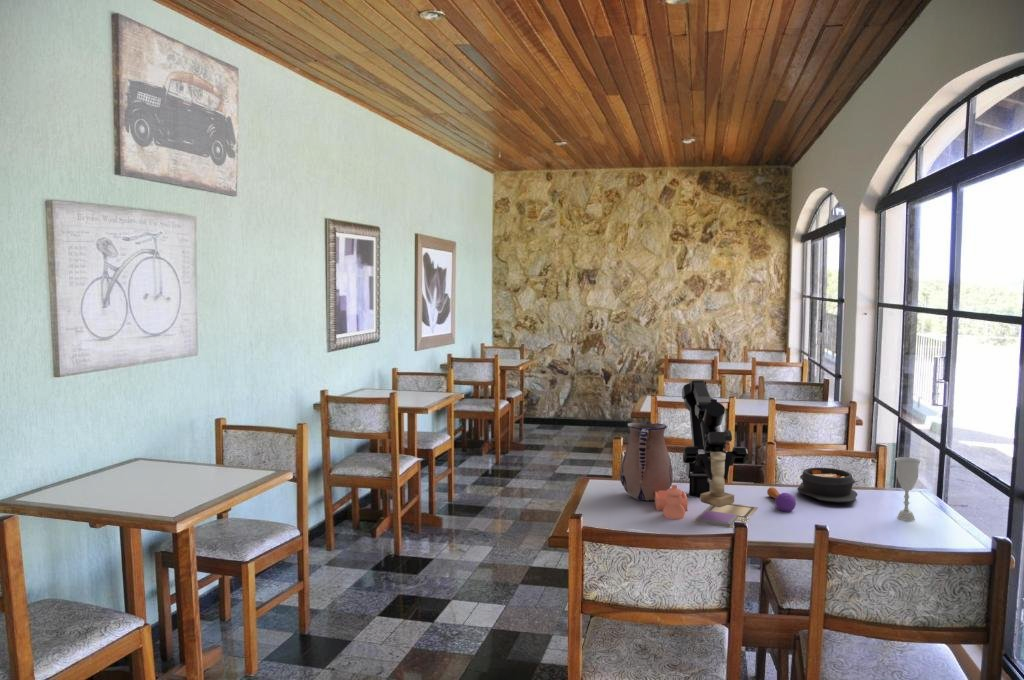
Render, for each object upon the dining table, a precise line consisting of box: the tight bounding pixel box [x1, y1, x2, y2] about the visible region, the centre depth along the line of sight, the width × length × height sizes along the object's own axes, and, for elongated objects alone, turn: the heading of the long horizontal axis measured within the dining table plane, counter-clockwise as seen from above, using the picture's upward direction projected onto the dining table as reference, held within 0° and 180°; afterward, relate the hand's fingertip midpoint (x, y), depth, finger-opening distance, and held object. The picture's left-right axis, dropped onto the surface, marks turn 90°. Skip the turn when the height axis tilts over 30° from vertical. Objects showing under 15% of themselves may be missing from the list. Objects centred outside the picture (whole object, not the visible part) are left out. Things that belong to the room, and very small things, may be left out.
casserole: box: [796, 467, 858, 503], centre depth 245 cm, size 25×19×8 cm
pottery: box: [654, 484, 688, 520], centre depth 230 cm, size 18×10×10 cm, turn 173°
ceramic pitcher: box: [619, 421, 674, 501], centre depth 244 cm, size 18×21×25 cm
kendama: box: [766, 486, 797, 513], centre depth 236 cm, size 6×6×20 cm
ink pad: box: [695, 509, 738, 528], centre depth 220 cm, size 10×10×1 cm
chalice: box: [894, 456, 921, 522], centre depth 221 cm, size 7×7×18 cm
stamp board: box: [692, 503, 760, 529], centre depth 225 cm, size 14×25×1 cm, turn 149°
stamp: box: [699, 452, 735, 507], centre depth 219 cm, size 7×7×15 cm
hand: (718, 479), depth 218 cm, fingers closed on stamp, 4 cm apart
